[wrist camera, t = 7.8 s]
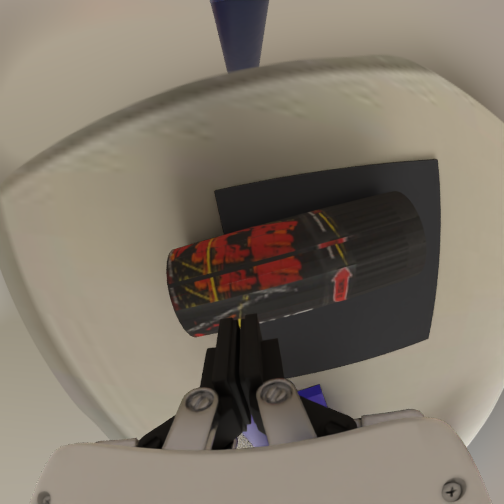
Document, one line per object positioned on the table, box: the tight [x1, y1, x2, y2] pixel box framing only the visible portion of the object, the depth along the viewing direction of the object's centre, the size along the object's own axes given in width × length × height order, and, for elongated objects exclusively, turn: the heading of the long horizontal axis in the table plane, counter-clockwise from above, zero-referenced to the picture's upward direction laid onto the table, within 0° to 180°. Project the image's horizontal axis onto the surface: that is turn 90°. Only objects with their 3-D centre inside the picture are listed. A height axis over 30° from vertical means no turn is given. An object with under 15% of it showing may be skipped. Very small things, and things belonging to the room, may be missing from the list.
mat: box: [215, 159, 441, 379], centre depth 21 cm, size 18×18×1 cm
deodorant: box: [166, 191, 426, 337], centre depth 17 cm, size 6×6×15 cm
